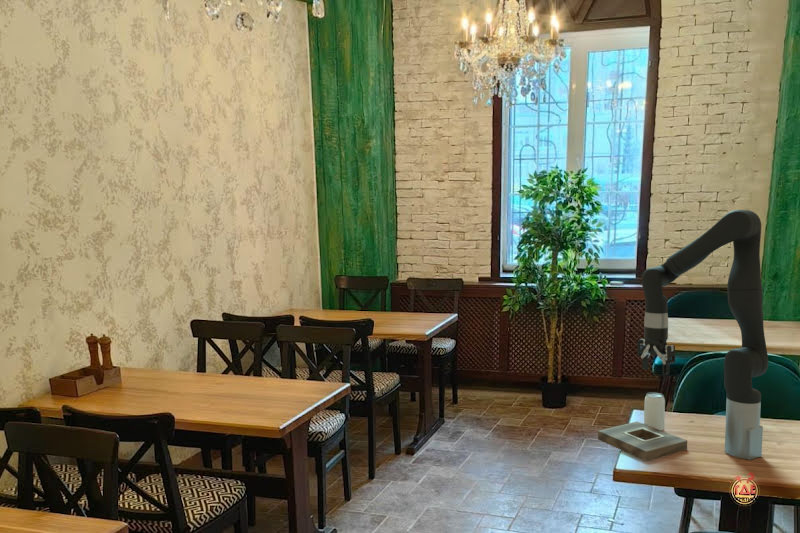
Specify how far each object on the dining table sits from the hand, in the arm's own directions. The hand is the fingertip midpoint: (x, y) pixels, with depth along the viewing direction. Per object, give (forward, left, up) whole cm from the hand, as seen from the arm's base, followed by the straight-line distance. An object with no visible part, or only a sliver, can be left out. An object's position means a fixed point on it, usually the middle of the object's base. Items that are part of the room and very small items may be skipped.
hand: (655, 372), depth 213 cm
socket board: (-8, +14, -20) cm, 26 cm away
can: (0, 0, -20) cm, 20 cm away
